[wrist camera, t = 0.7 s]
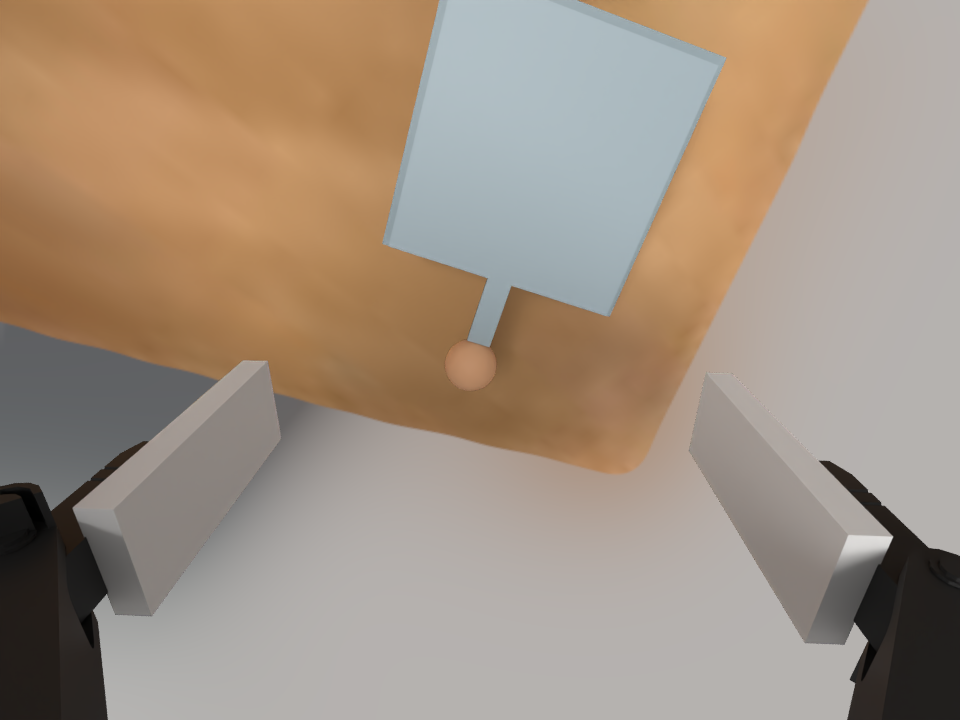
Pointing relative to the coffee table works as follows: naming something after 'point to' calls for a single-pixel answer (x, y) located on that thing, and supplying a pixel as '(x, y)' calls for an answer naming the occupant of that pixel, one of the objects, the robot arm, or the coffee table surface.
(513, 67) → the flap
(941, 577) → the robot arm
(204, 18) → the coffee table surface
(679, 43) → the carton
